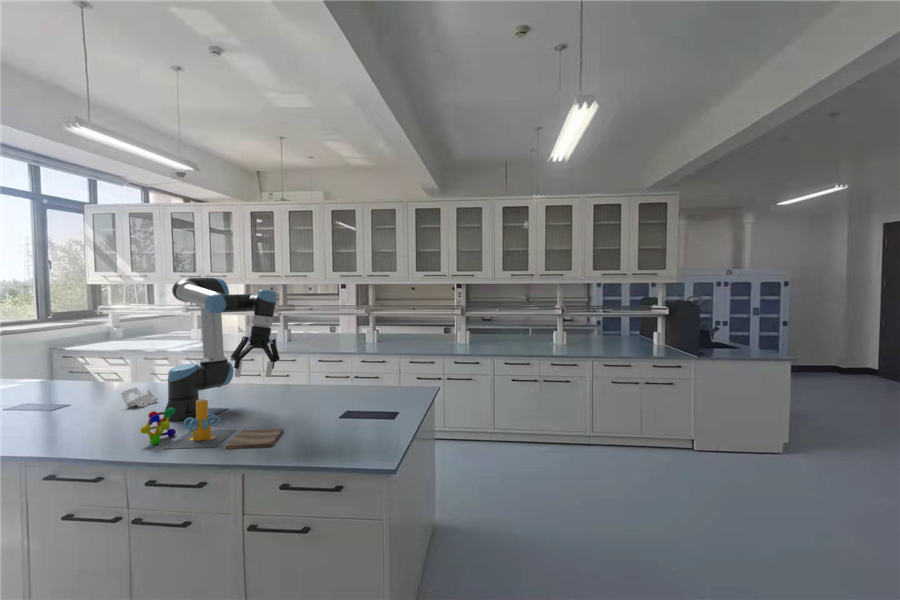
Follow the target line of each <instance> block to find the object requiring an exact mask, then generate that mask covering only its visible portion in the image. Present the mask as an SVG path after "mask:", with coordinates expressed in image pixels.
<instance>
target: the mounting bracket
mask: <svg viewBox="0 0 900 600" xmlns="http://www.w3.org/2000/svg"><path fill="white" fill-rule="evenodd" d="M120 394H121V397H122V399H123V402H124V404H125V406H126V408H127V409H131V408H133V407H136V406H137V407H138V408H143V407H146V406H149V405H152V404H155V403H156V402H158V400H159V398H158V397H156V396H155V395H154V393H152V392H151V390H149V389H147V390H145V391H143V392H141V391H140V390H139V388H138V387H134V388H130V389H126V390H123V391H121V392H120ZM130 394H132V395H134V398H131V399H130V398H129V395H130Z"/></svg>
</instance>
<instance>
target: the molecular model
mask: <svg viewBox="0 0 900 600" xmlns="http://www.w3.org/2000/svg"><path fill="white" fill-rule="evenodd" d="M166 413H167V414H166ZM174 413H175V409H174V408H168V409H167V411H165V410H164V411H160V412H157V411H151V412H149V413H148V418H149V419H148V420H147V423H146V425H143V426H142V427H141V428H140V433H141V434H147V436H148V439H149V440H150V443H151V444H152V445H158V444H159V443H161V438H160V437H163V436H168V437H173V436H174V435H176V432H177V430H176V429H175V428H170V427H171V426H170V425H171V424H170V421H169V418H170V416H171V415H172V414H174ZM164 414H166V415H165V416H164ZM160 415H163V418H161V417H160ZM165 419H166V420H165ZM153 423H156V425H155V426H152V425H153ZM151 430H155V431H154V432H152V431H151ZM165 430H167V431H165ZM164 431H165V432H164Z"/></svg>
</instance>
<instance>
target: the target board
mask: <svg viewBox="0 0 900 600" xmlns="http://www.w3.org/2000/svg"><path fill="white" fill-rule="evenodd" d="M282 433H284V428H267V429H266V428H264V429H262V428H261V429H259V428H258V429H242V430H241V431H240V432H238V433H237V434H236V435H235V436H234V437H233V438H232V439H231V440H230V441H229V442H228V443H226V444H225V449H229V450H230V449H250V448H271V447H272V446H273V445H274V443H275V442H276V441H277V440H278V439H279V437H281V434H282Z"/></svg>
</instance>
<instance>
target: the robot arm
mask: <svg viewBox="0 0 900 600" xmlns="http://www.w3.org/2000/svg"><path fill="white" fill-rule="evenodd" d="M171 291H172V295H173V296H174V298H175V299H177V300H178V301H179V302H184V303H193V304H195V305H196V306H197V307H198V308H199V309H200V316H201V318H200V319H201V335H202V337H201V338H202V351H203V352H202V353H203V356H202V357H203V358H202V359H201V360H200V363H199V364H198V363H193V362H192V363H185V364H180V365H177V366H174V367H172V368H171V369H169V371H168V373H167V392H168V393H167V395H168V397H167V398H168V399H167V404H166V407H165V409H164V411H167V409H168V408H174V409H175V413H174V414H172V415H171V416H170V418H169V421H168V422H180V421H185V420H186V419H187V418H194V419H196V401H197V400H200V397H199V391H204V390H210V389H213V388H220V387H224V386H227V385H229V384H230V383H231V381H232V380H233V377H236V378H240V377H241V372H242V366H243V362H244V361H243V360H242V359H243V358H245V357H246V356H247V354H249V352H251V351H252V350H253V349H261V350H263V351H264V353H265V355H266V356H267V358H268V359H269V360H268V361H267V366H266V371H265V377H267V378H271V377H272V371H273V370H274V367H275V363H276V362H277V361H280V356H279V351H278V349H277V339H276V338H270V337H271V334H272V333H271V332H272V328H271V327H272V325H273V321H274V314H275V310H276V304H277V297H278V296H277V295H278V294H277V292H276V291H273V290H267V289H259V290H258V291H257V294H254V293H243V294H240V293H239V294H234V293H233V294H230V290H229V286H228V285H227V282H225V280H224V279H222V278H217V277H184V278H181V279H179V280H177V281H176V282H175V283H174V284H173V286H172V288H171ZM242 312H244V313H246V312H248V313H249V312H253V319H252V322H251V323H252V326H251V329H250V330H251V331H250V337H249V336H246V335H244V336H243V335H242V337H241V341H240V342H239V344H238V346H237V347H236V348H235V350H234V352H232V354H231V355H230V358H231V359H232V360H234V365H233V363H232V362H230V361H228V359H229V358H227V357H226V356H225V355H224V338H223V337H224V336H223V334H224V333H223V321H222V320H223V317H222V314H223V313H242ZM248 343H249V344H248ZM268 344H269V345H268ZM269 346H270V347H269ZM234 369H235V371H234ZM166 414H167V413H166ZM166 414H163V417H164V416H165V415H166ZM165 421H166V419H165Z"/></svg>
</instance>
